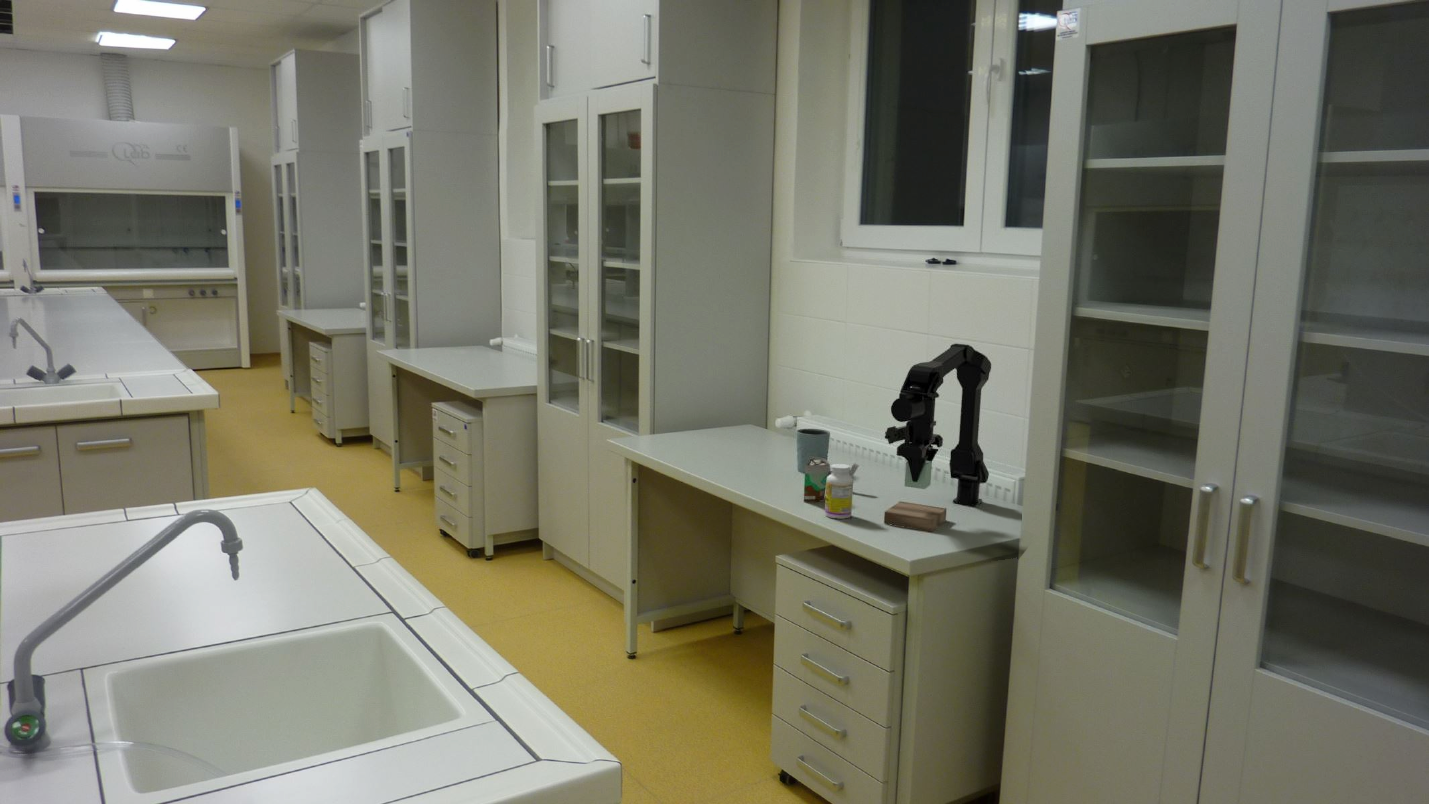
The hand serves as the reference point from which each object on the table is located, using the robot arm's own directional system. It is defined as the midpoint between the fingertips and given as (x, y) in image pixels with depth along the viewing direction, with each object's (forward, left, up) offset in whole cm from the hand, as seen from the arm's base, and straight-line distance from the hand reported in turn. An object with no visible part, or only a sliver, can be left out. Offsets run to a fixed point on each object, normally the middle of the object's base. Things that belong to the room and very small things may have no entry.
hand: (918, 479), depth 248 cm
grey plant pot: (-36, -43, -11) cm, 57 cm away
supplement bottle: (+6, -18, -11) cm, 22 cm away
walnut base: (0, 0, -11) cm, 11 cm away
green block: (0, 0, -2) cm, 2 cm away
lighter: (-19, -26, -11) cm, 34 cm away
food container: (-7, -29, -11) cm, 32 cm away
